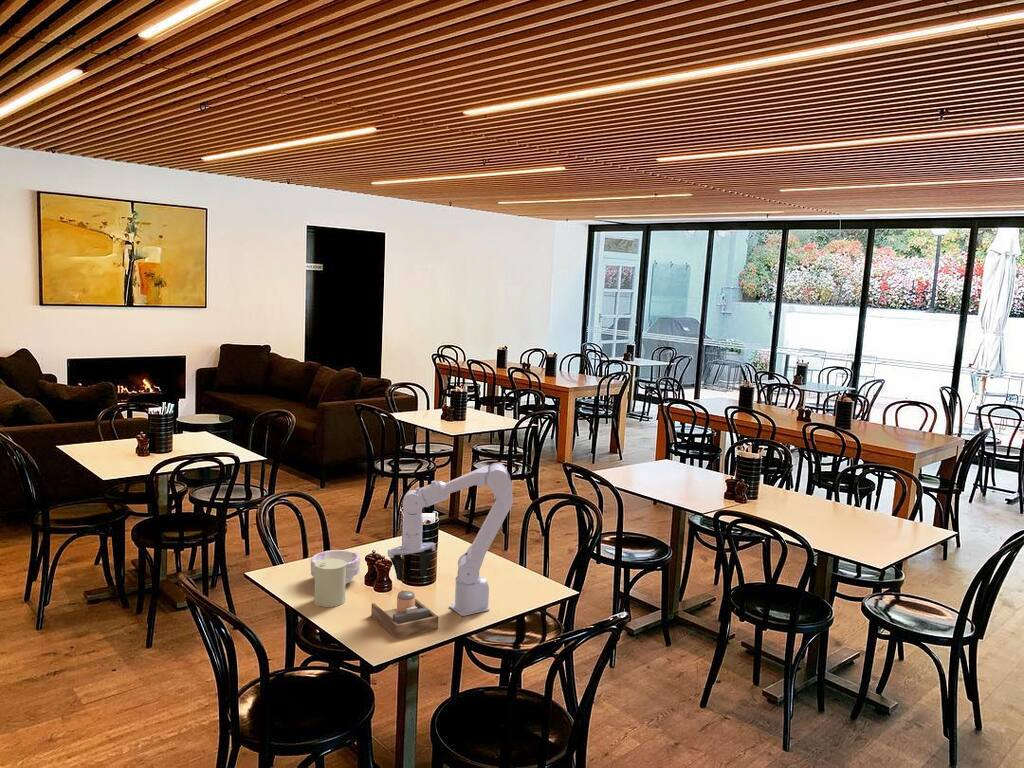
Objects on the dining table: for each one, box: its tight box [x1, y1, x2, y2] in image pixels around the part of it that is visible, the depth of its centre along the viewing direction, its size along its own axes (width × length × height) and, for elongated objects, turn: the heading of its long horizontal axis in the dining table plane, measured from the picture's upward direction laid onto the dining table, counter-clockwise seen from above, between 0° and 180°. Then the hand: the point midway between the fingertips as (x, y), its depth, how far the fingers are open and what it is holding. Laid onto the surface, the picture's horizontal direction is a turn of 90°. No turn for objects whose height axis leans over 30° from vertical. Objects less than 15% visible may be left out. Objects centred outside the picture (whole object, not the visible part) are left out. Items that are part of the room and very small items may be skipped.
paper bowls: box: [310, 549, 361, 585], centre depth 254 cm, size 15×15×8 cm
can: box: [313, 558, 347, 608], centre depth 238 cm, size 9×9×12 cm
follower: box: [393, 606, 431, 624], centre depth 223 cm, size 10×2×5 cm, turn 123°
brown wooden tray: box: [370, 598, 440, 639], centre depth 226 cm, size 13×17×4 cm
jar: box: [396, 590, 416, 613], centre depth 225 cm, size 5×5×8 cm
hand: (411, 577), depth 235 cm, fingers open, 7 cm apart
